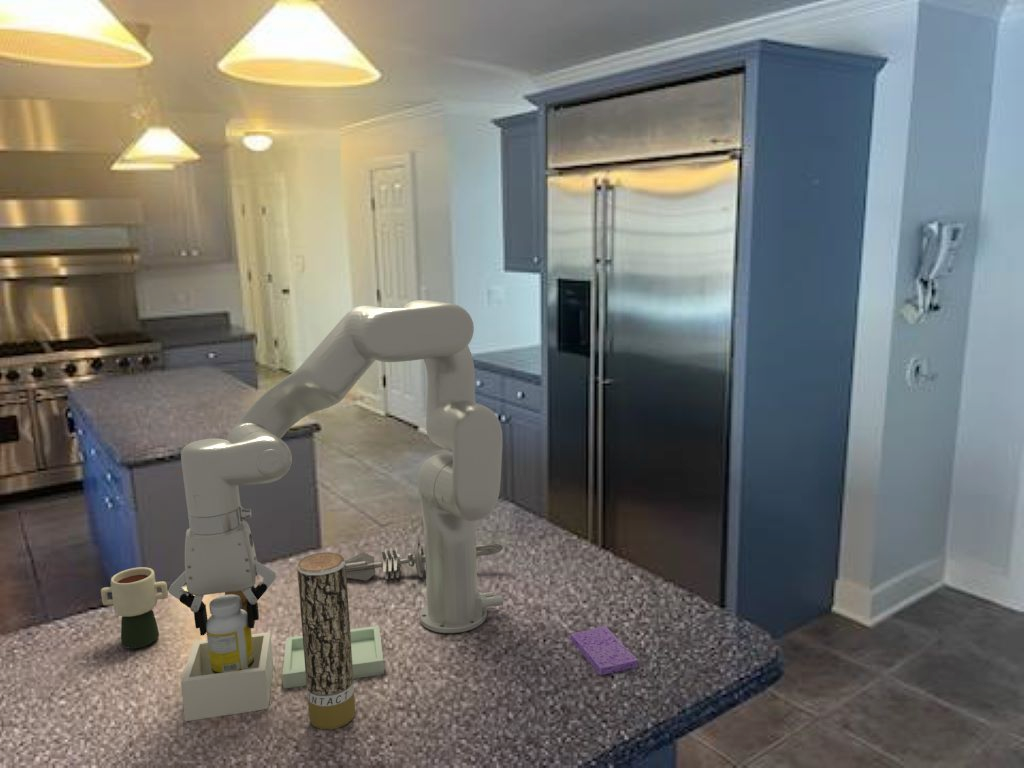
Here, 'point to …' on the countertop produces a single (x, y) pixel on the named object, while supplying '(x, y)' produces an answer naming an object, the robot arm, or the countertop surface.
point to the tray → (363, 656)
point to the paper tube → (326, 639)
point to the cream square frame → (227, 683)
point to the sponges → (603, 650)
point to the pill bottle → (229, 635)
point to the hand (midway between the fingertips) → (228, 626)
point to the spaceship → (399, 561)
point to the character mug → (135, 604)
